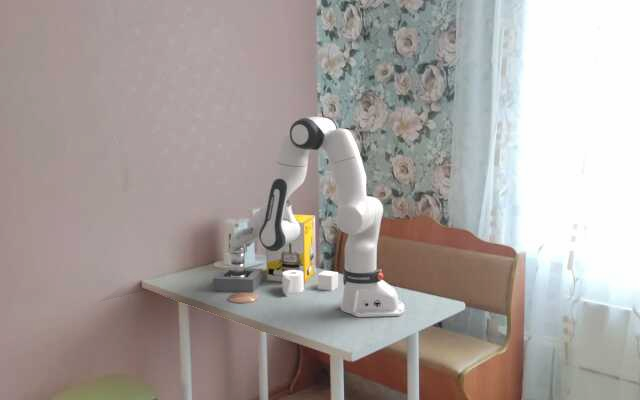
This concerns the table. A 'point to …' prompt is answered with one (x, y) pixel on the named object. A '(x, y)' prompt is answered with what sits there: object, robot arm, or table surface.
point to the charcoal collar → (237, 281)
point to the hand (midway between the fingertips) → (239, 247)
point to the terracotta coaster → (243, 297)
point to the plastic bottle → (238, 262)
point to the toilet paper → (292, 281)
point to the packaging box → (295, 253)
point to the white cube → (328, 280)
